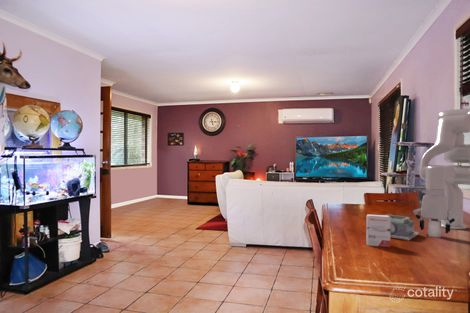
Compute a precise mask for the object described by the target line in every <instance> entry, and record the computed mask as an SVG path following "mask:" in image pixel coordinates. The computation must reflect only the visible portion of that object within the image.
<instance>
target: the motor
mask: <svg viewBox="0 0 470 313" xmlns="http://www.w3.org/2000/svg"><path fill="white" fill-rule="evenodd" d="M385 215H386V216H390V218H391V238H393V239H397V240H398V239H399V240H406V241H411V240H412V239H413V238H415V237H416V236H418V235H419V231H415V220H411V217H410V216H402V215H395V214H385Z"/></svg>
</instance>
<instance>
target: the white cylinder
mask: <svg viewBox="0 0 470 313" xmlns="http://www.w3.org/2000/svg"><path fill="white" fill-rule="evenodd" d="M427 235H428V237H430V238H442V227H441V220H440V219H431V218H429V219H428V220H427Z"/></svg>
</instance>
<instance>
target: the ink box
mask: <svg viewBox="0 0 470 313" xmlns="http://www.w3.org/2000/svg"><path fill="white" fill-rule="evenodd" d="M386 215H387V214H383V215H382V214H366V226H365V227H366V232H365V233H366V236H365V237H366V245H367V246H371V247H382V248H391V238H392V237H391V218H390V216H386Z"/></svg>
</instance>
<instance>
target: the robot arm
mask: <svg viewBox="0 0 470 313" xmlns="http://www.w3.org/2000/svg"><path fill="white" fill-rule="evenodd" d="M435 130H436V131H435V135H434V142H433V145H432V146H431V147H429V149H427V150H426V151H425V152H424V154H423V155H422V156H421V159H420V164H419V177H420V179H421V180H423V181H425V188H424V189H421V193H424V194H423V196H422V201H421V207H419V208H417V209H414V210H413V214H414V216H415V218H416V219H417V220H418V221H419V228H420V230H421V231H423V230H424V229H425V219H438V220H440V221H441V228H444V229H445V234H449V232H451V229H452V230H466V229H467V225H466V224H464V192H463V190H462V188H461V187H460V186H459V185H466V186H470V143H469V144H468V143H467V144H466V143H465V134H466V133H467V134H468V133H470V108H461V109H460V108H459V109H449V110H448V109H447V110H442V111H440V112H439V113H438V114H437V124H436V129H435ZM442 154H443V159H444V161H446V163H453V164H454V165H453V164H449V165H447V164H446V165H445V164H443V165H441V164H430V162H431V160H433V159H434V158H436V157H438V156H440V155H442ZM455 164H456V165H455ZM457 164H458V165H457ZM459 164H469V165H459ZM419 212H420V214H419Z"/></svg>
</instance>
